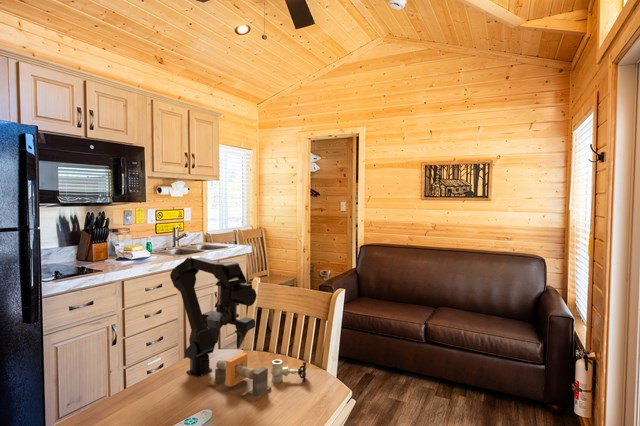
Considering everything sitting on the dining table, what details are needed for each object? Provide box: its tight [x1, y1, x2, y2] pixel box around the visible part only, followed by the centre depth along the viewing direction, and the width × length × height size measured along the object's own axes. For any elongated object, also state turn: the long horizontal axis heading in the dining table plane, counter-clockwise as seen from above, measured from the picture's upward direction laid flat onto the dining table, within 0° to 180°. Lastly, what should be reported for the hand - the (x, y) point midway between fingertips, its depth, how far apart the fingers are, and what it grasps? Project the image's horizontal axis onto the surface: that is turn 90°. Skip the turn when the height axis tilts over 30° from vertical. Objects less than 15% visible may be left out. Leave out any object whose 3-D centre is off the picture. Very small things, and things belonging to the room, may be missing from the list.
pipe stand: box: [206, 358, 272, 403], centre depth 125 cm, size 20×9×8 cm, turn 59°
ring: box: [226, 352, 248, 387], centre depth 126 cm, size 2×8×8 cm, turn 149°
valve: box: [270, 359, 307, 384], centre depth 131 cm, size 7×7×12 cm
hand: (227, 345), depth 128 cm, fingers open, 9 cm apart
